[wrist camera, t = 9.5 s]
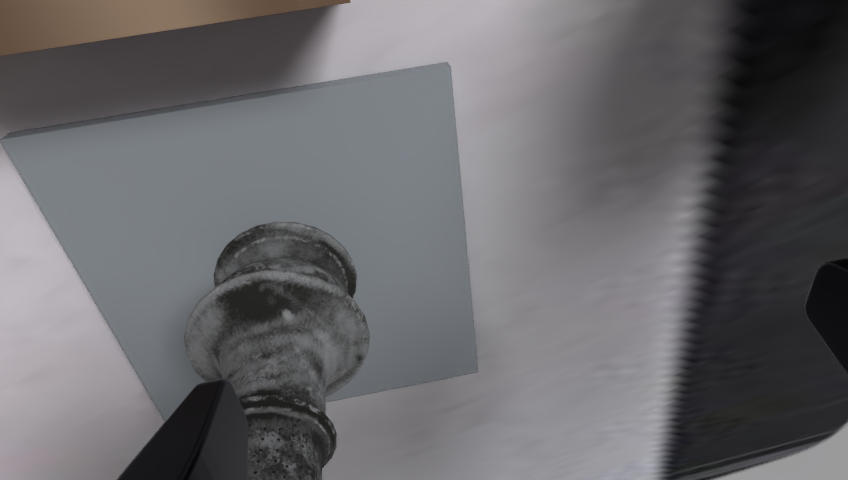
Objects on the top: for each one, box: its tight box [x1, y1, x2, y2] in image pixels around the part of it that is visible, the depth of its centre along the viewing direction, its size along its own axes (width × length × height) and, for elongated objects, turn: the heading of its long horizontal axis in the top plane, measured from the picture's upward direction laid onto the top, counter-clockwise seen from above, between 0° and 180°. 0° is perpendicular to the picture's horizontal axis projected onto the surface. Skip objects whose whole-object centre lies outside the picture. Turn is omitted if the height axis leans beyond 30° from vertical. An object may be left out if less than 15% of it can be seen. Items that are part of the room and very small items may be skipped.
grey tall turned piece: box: [184, 222, 370, 480], centre depth 15 cm, size 6×6×12 cm
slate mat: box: [0, 62, 478, 421], centre depth 21 cm, size 14×14×1 cm
